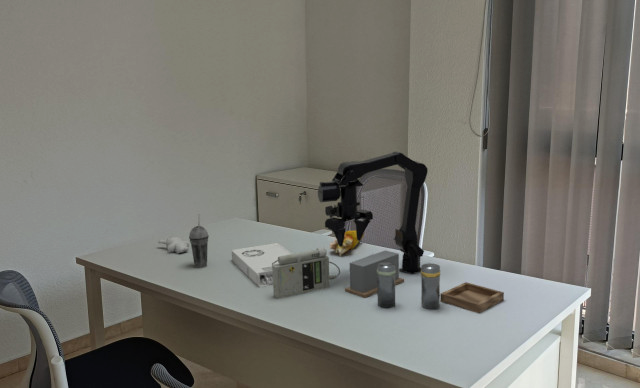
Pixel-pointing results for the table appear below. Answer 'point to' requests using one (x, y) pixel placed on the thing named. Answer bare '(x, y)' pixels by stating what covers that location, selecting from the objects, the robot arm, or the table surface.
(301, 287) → the geiger counter
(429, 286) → the cylinder
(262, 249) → the power supply unit
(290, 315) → the table surface
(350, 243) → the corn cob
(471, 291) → the tray
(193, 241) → the beverage cup
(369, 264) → the block
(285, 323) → the table surface
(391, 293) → the cylinder
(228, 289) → the table surface
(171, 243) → the bunny figurine
